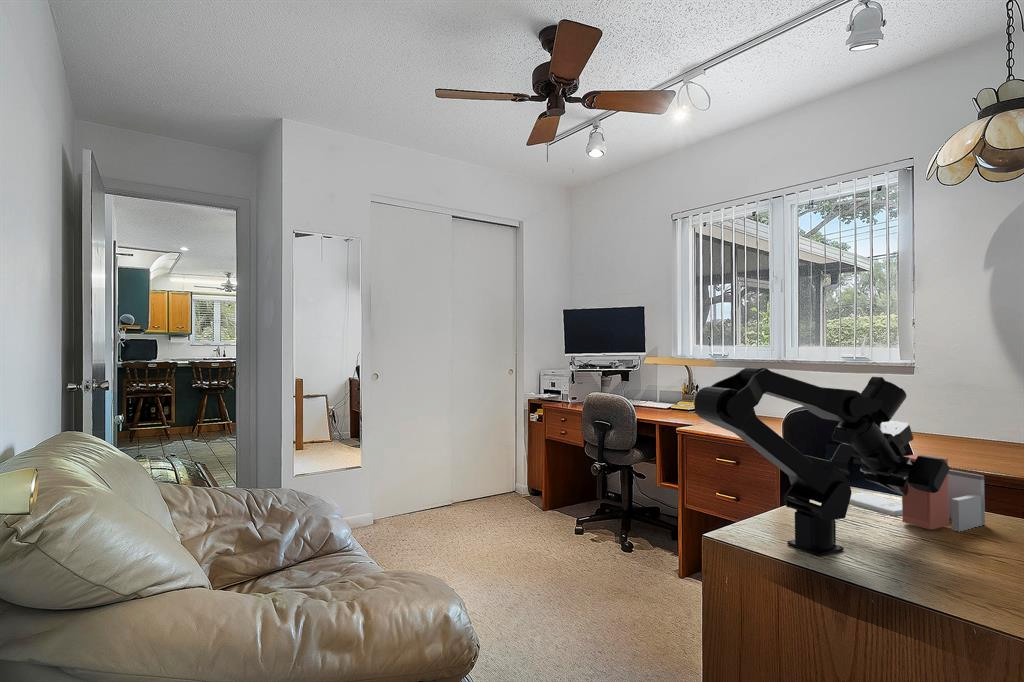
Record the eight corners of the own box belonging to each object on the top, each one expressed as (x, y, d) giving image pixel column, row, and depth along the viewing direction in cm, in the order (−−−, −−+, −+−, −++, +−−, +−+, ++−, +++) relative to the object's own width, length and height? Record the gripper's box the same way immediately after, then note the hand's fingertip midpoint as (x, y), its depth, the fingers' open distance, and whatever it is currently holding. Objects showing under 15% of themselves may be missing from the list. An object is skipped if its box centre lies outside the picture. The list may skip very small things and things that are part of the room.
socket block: (959, 532, 103) (958, 480, 103) (906, 518, 112) (905, 470, 112) (985, 525, 107) (984, 475, 107) (931, 512, 115) (931, 466, 115)
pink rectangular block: (928, 530, 103) (927, 461, 103) (900, 522, 107) (899, 456, 107) (948, 525, 105) (947, 458, 106) (920, 517, 110) (919, 453, 110)
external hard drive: (864, 499, 128) (920, 513, 116) (839, 502, 125) (894, 518, 113) (864, 492, 128) (920, 506, 116) (839, 495, 125) (894, 510, 113)
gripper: (942, 413, 93) (979, 470, 98) (838, 403, 110) (873, 452, 115) (915, 463, 90) (955, 520, 94) (812, 445, 107) (850, 494, 111)
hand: (905, 493), depth 104 cm, fingers closed
